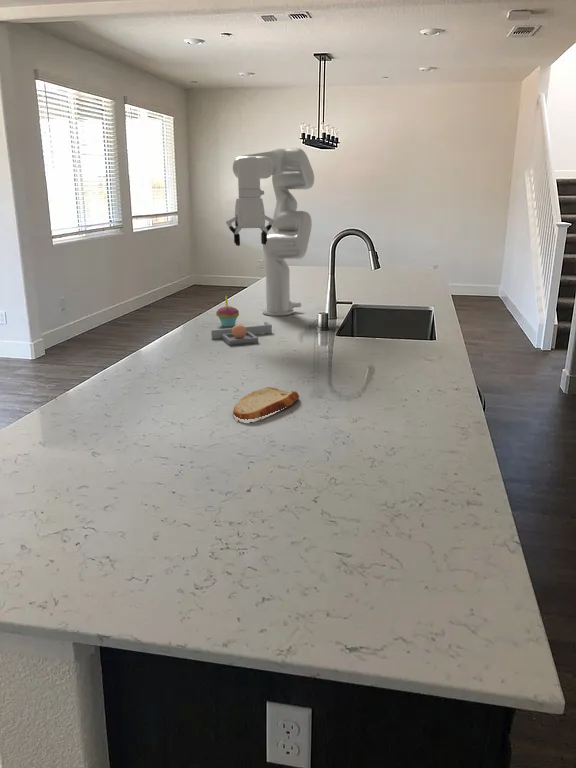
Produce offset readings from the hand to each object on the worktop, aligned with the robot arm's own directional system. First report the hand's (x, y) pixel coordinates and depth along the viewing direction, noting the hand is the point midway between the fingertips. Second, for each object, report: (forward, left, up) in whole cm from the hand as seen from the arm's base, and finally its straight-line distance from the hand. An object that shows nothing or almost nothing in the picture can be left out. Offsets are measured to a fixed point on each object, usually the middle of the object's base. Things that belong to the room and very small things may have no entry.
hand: (250, 244), depth 227 cm
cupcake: (+7, -9, -31) cm, 33 cm away
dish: (+10, +16, -30) cm, 36 cm away
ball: (+10, +16, -30) cm, 35 cm away
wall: (+7, +6, -30) cm, 32 cm away
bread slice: (+23, +81, -31) cm, 90 cm away
